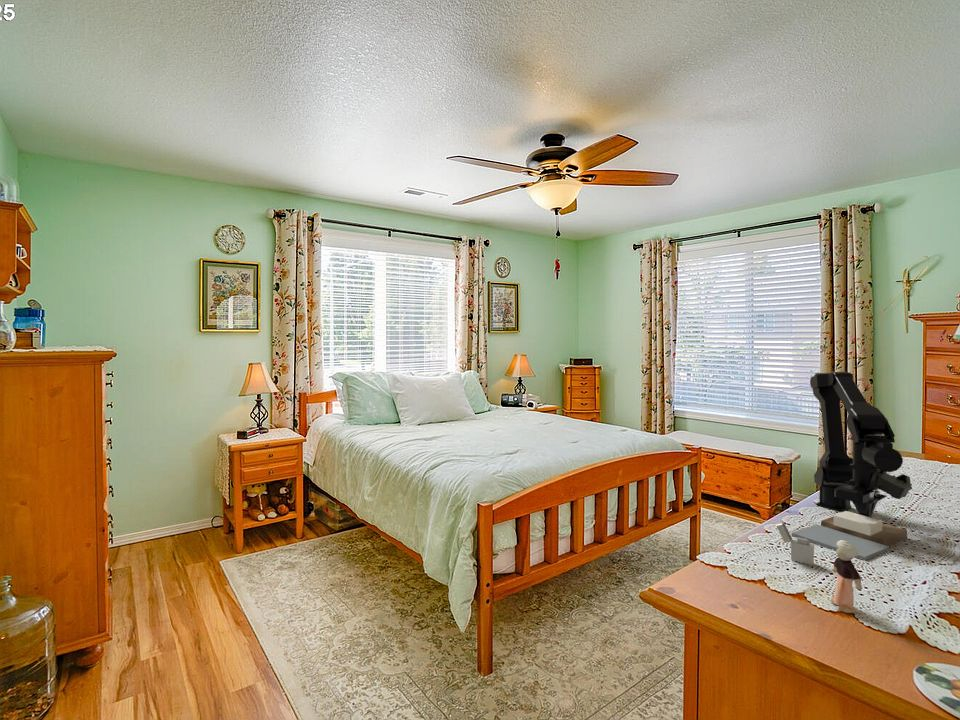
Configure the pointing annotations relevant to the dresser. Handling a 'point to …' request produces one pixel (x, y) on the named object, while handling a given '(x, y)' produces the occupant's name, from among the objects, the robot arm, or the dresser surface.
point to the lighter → (797, 546)
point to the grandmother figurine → (845, 577)
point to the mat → (831, 537)
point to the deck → (884, 537)
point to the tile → (858, 523)
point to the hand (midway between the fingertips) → (866, 521)
